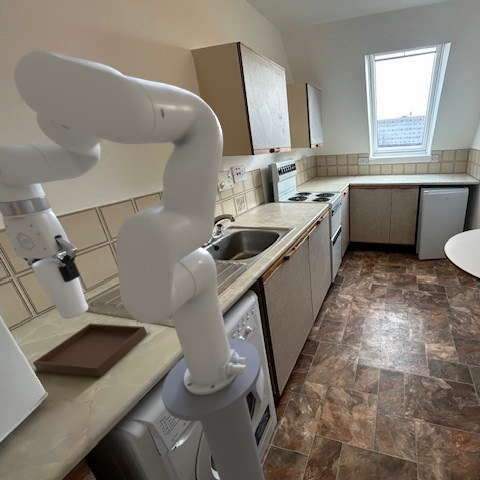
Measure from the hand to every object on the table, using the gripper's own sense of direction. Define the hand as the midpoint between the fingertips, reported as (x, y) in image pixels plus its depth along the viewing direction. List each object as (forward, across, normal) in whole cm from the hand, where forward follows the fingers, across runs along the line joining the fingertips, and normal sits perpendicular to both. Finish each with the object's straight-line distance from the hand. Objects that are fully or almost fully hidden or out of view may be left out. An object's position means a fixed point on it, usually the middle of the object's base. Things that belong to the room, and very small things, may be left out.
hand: (59, 278), depth 64 cm
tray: (+24, -1, +1) cm, 24 cm away
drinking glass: (+10, 0, 0) cm, 10 cm away
